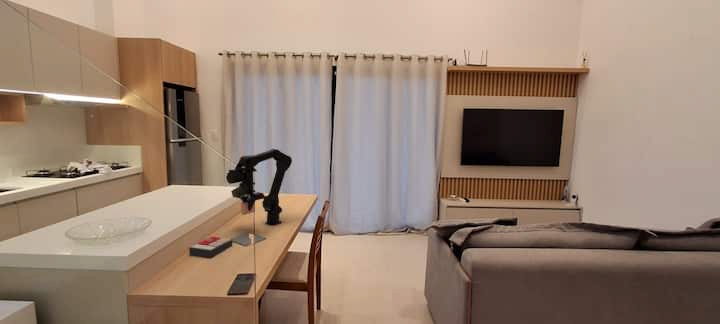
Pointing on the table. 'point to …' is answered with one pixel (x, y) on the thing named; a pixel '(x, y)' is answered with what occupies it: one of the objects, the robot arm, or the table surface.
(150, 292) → the table surface
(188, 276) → the table surface
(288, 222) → the table surface
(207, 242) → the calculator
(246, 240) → the mat
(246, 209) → the block
